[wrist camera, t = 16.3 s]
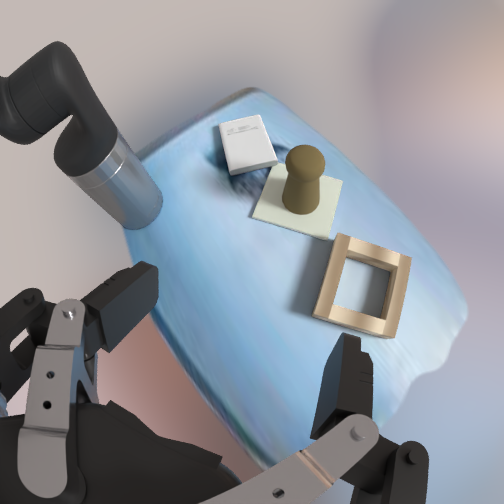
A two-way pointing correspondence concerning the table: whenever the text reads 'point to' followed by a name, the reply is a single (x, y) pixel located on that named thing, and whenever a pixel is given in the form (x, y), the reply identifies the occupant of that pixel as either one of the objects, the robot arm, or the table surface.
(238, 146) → the external hard drive
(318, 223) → the mat
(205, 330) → the table surface
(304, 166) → the cork
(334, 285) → the holder
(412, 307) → the table surface
